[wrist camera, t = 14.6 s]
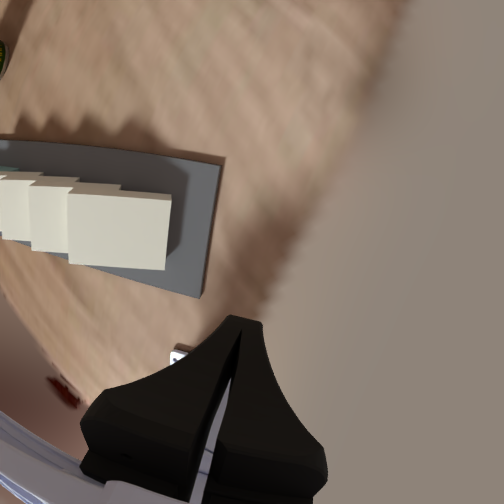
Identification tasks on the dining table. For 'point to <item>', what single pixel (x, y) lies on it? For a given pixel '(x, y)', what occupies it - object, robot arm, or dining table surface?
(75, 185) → the ivory domino
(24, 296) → the dining table surface
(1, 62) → the green drink can
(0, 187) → the ivory domino
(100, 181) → the charcoal mat
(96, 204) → the ivory domino
